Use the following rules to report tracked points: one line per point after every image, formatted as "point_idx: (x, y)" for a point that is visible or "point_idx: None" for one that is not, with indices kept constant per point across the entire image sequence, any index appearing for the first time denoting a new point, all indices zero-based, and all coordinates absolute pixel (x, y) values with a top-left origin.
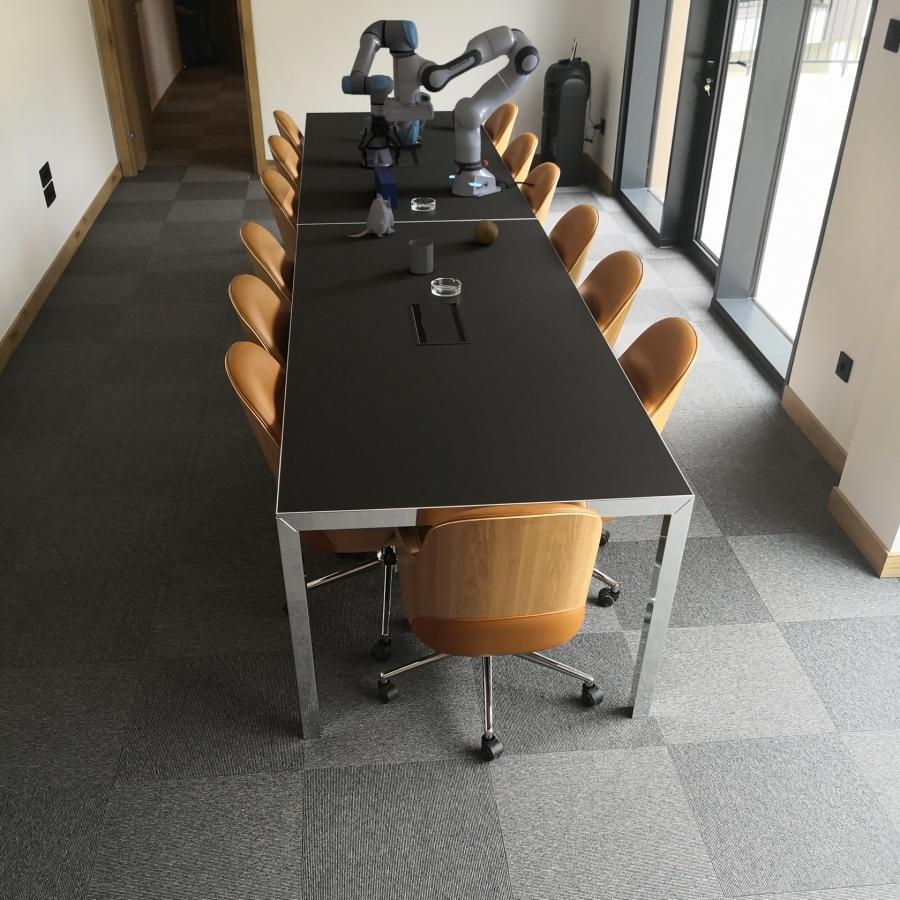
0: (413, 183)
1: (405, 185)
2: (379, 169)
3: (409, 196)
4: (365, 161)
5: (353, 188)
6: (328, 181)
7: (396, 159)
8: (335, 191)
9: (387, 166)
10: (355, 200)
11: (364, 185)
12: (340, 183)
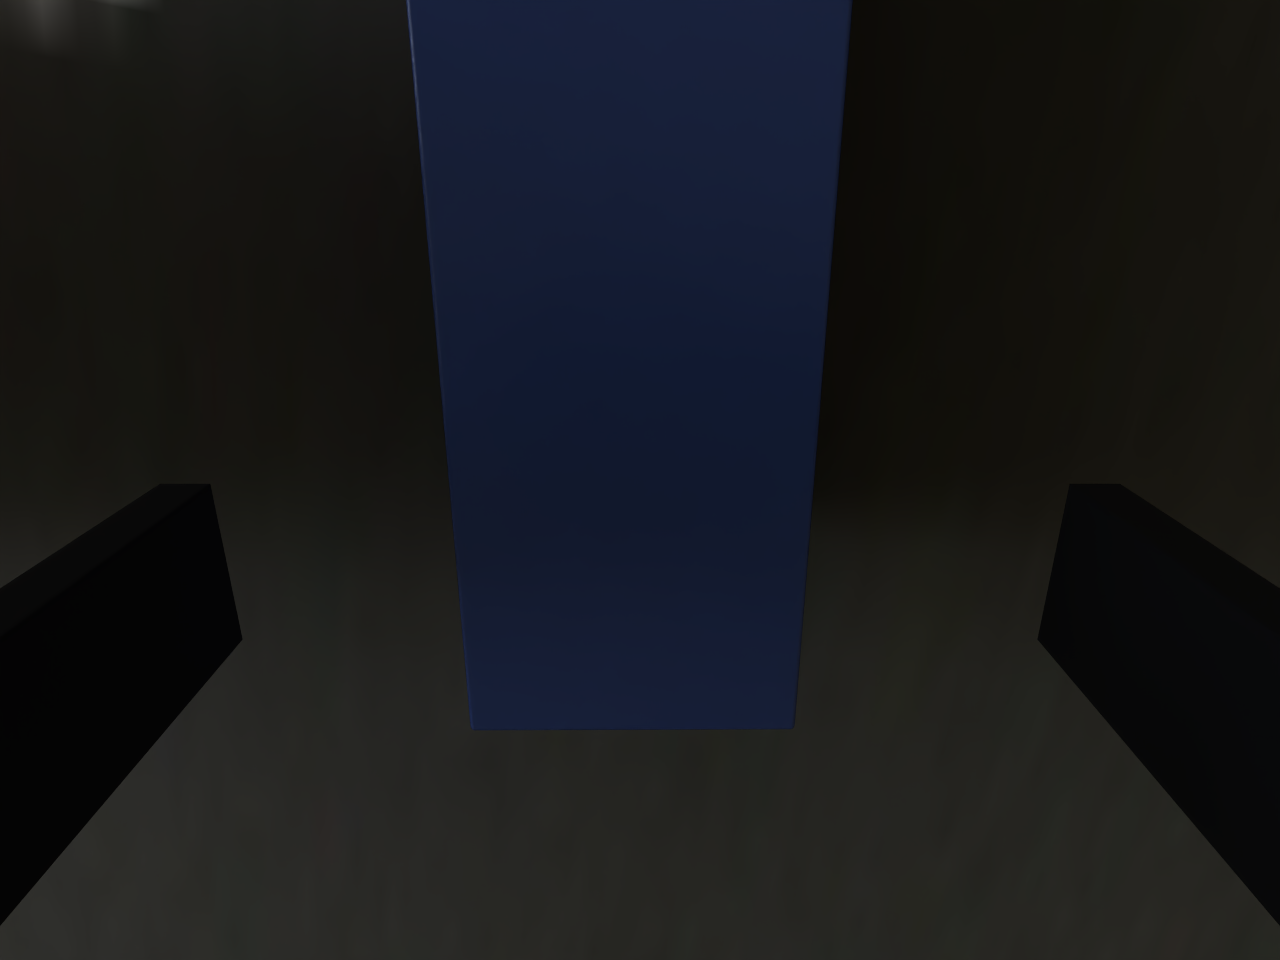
0: (187, 733)
1: (293, 670)
2: (709, 438)
3: (220, 108)
4: (1215, 551)
5: (997, 654)
6: (1204, 945)
7: (95, 563)
8: (1269, 567)
9: (479, 668)
10: (1139, 38)
11: (828, 749)
12: (1095, 862)
